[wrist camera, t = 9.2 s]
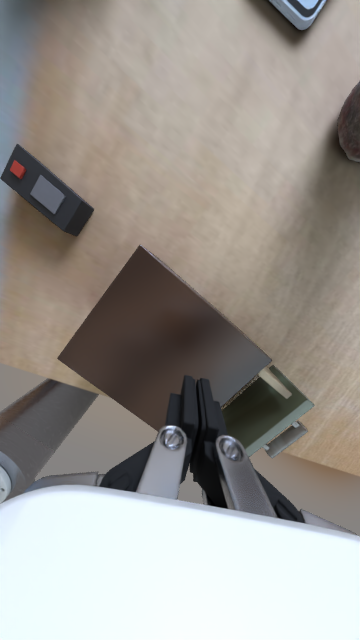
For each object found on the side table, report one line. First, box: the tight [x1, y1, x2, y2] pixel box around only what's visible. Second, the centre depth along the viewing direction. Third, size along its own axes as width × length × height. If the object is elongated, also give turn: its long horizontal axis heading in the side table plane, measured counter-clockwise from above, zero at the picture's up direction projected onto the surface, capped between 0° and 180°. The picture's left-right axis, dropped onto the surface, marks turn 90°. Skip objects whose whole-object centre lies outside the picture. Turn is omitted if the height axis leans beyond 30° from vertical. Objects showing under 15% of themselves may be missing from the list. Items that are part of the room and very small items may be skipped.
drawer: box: [221, 365, 315, 458], centre depth 22 cm, size 20×12×7 cm, turn 50°
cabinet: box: [57, 245, 272, 432], centre depth 21 cm, size 16×14×9 cm
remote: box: [1, 144, 94, 236], centre depth 20 cm, size 8×4×3 cm, turn 50°
